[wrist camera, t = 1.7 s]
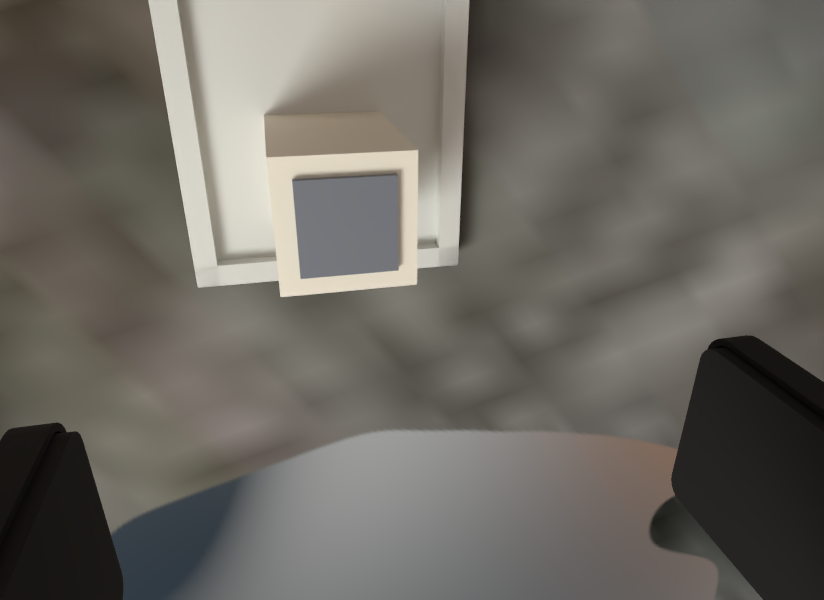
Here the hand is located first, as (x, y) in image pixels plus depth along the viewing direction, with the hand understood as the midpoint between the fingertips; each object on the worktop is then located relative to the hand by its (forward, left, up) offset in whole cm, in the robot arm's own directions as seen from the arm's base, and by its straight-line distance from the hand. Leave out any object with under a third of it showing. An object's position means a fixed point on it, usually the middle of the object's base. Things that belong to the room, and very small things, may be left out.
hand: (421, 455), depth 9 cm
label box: (0, 0, -15) cm, 15 cm away
